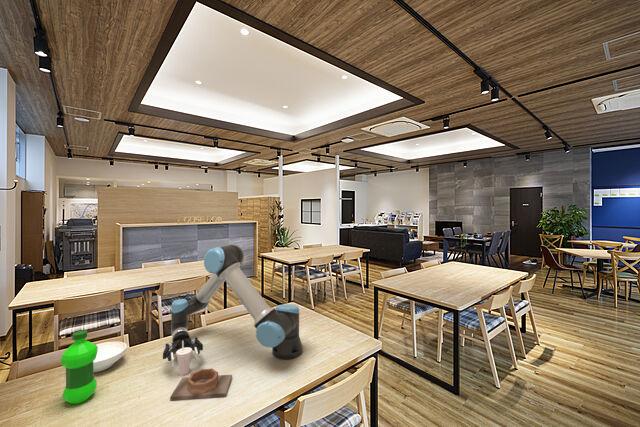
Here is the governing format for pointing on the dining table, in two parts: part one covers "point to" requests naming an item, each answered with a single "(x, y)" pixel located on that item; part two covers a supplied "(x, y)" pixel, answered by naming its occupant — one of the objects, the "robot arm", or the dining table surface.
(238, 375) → the dining table surface
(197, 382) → the brown cup holder
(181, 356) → the smoothie
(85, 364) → the plastic bottle
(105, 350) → the bowl
